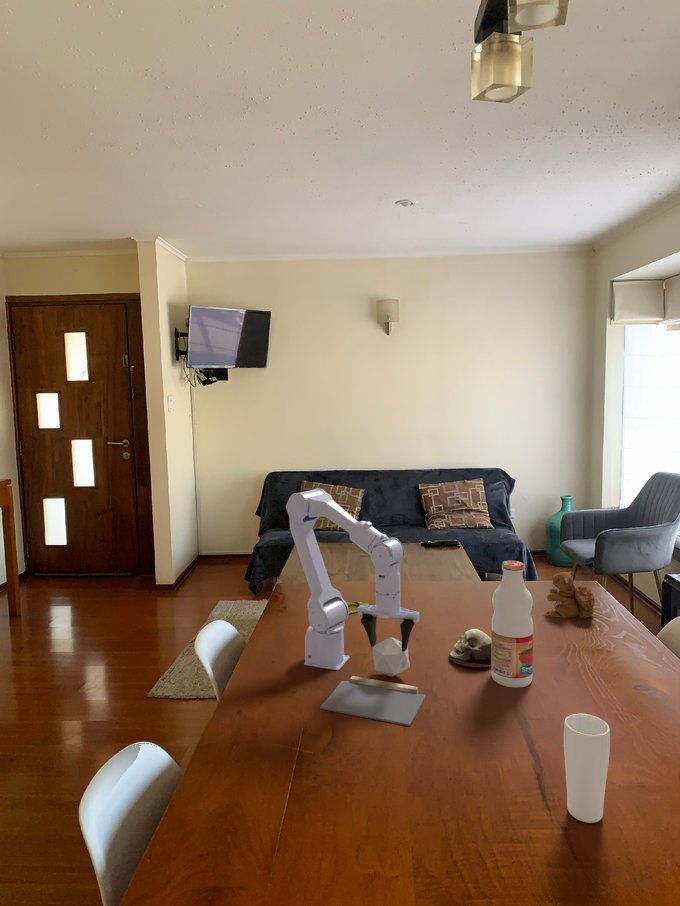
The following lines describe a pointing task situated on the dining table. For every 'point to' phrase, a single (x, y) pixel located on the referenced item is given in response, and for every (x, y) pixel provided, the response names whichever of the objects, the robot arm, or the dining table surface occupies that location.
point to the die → (390, 657)
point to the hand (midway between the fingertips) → (388, 647)
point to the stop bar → (384, 684)
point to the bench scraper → (374, 702)
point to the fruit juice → (512, 629)
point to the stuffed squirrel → (570, 597)
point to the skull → (472, 649)
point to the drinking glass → (586, 765)
